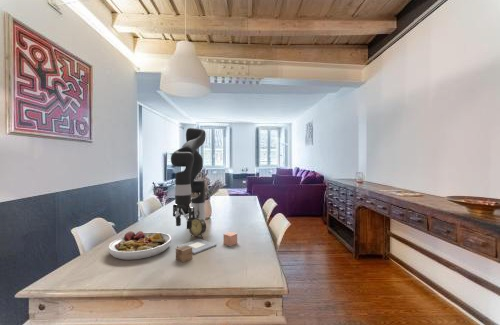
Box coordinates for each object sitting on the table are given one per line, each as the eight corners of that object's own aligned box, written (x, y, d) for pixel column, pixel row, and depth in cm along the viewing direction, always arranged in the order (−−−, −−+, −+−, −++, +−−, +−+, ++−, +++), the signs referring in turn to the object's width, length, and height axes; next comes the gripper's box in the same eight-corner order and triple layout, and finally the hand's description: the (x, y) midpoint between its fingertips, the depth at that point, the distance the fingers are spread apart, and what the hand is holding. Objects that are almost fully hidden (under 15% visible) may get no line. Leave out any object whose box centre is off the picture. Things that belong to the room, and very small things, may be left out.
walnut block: (175, 259, 115) (175, 248, 115) (185, 255, 119) (185, 244, 119) (182, 262, 112) (182, 251, 111) (192, 258, 116) (192, 247, 116)
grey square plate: (177, 247, 130) (177, 245, 130) (199, 240, 142) (199, 238, 142) (194, 254, 121) (194, 252, 121) (216, 245, 132) (216, 244, 132)
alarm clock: (188, 236, 148) (187, 210, 148) (194, 234, 153) (193, 208, 153) (202, 239, 143) (201, 212, 143) (207, 236, 148) (207, 210, 148)
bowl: (182, 247, 132) (182, 232, 132) (129, 268, 107) (128, 250, 107) (150, 237, 149) (150, 224, 148) (97, 253, 124) (97, 238, 124)
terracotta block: (223, 243, 136) (223, 234, 136) (230, 241, 140) (230, 231, 140) (230, 246, 132) (230, 236, 132) (237, 243, 136) (237, 233, 136)
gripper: (198, 194, 113) (199, 228, 113) (181, 191, 122) (181, 223, 123) (185, 196, 107) (186, 232, 108) (167, 193, 116) (168, 226, 117)
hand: (183, 227), depth 115 cm, fingers open, 8 cm apart
